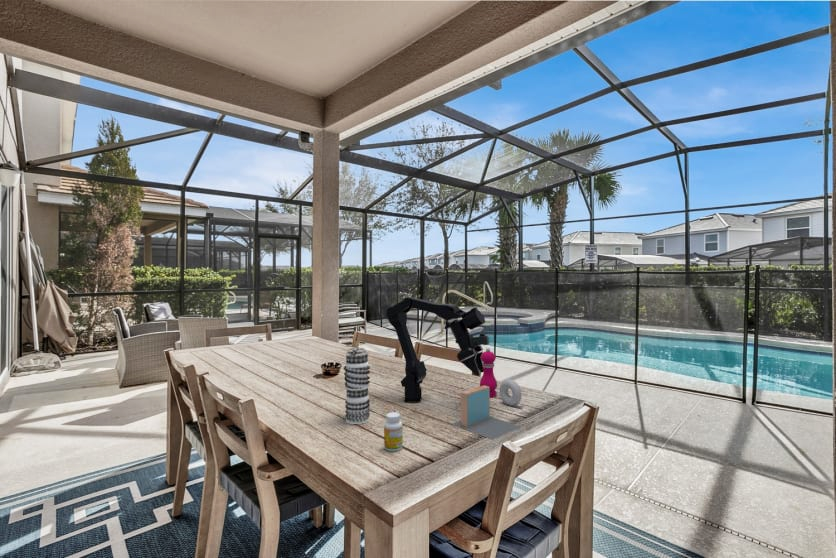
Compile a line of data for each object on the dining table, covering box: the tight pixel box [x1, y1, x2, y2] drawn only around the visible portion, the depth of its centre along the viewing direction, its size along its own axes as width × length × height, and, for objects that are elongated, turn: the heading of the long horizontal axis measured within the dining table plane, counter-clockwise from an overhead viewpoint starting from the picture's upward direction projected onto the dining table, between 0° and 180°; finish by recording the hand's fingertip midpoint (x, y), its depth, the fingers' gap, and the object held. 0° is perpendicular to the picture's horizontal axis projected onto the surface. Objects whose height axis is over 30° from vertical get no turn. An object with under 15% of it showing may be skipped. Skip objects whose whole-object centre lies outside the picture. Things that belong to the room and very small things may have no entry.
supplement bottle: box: [383, 411, 404, 452], centre depth 111 cm, size 5×5×10 cm
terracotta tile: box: [460, 385, 491, 427], centre depth 129 cm, size 3×12×11 cm, turn 131°
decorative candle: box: [343, 347, 371, 425], centre depth 133 cm, size 9×9×25 cm
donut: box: [499, 378, 523, 407], centre depth 146 cm, size 10×3×10 cm, turn 34°
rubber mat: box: [452, 415, 521, 441], centre depth 126 cm, size 17×15×1 cm
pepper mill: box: [479, 347, 498, 398], centre depth 159 cm, size 7×7×20 cm
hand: (480, 373), depth 139 cm, fingers open, 9 cm apart
